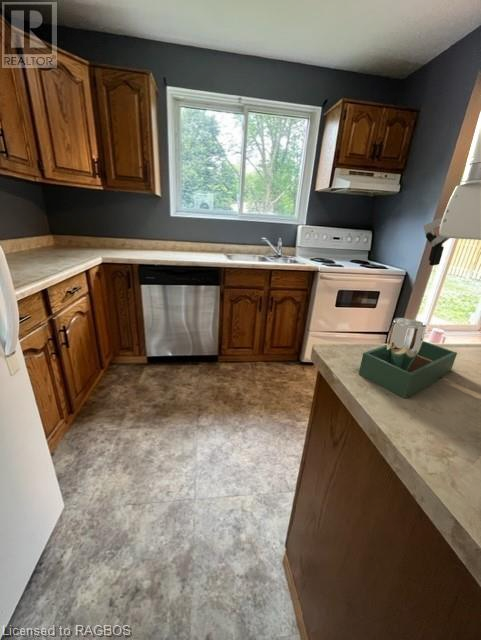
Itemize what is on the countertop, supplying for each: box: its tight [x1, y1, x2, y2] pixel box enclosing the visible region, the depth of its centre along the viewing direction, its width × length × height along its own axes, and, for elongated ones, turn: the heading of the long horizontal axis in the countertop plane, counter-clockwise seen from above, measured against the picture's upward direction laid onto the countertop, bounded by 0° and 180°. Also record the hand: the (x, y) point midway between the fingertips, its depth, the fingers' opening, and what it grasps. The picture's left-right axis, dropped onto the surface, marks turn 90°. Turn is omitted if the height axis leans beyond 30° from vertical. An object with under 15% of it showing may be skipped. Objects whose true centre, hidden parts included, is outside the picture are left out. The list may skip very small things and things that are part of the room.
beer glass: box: [386, 317, 427, 372], centre depth 64 cm, size 7×7×15 cm
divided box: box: [358, 340, 458, 400], centre depth 69 cm, size 22×12×6 cm, turn 122°
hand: (459, 268), depth 56 cm, fingers open, 9 cm apart
